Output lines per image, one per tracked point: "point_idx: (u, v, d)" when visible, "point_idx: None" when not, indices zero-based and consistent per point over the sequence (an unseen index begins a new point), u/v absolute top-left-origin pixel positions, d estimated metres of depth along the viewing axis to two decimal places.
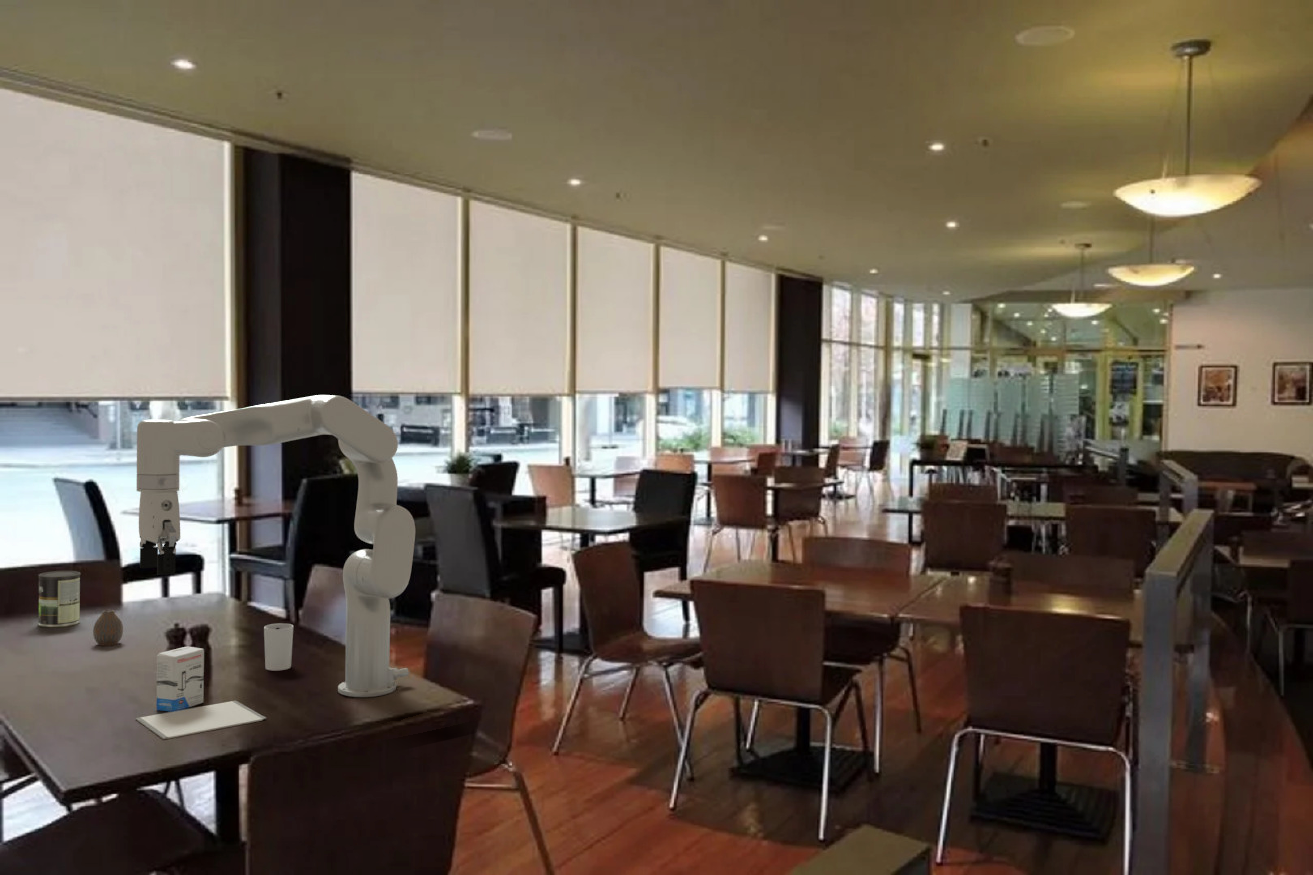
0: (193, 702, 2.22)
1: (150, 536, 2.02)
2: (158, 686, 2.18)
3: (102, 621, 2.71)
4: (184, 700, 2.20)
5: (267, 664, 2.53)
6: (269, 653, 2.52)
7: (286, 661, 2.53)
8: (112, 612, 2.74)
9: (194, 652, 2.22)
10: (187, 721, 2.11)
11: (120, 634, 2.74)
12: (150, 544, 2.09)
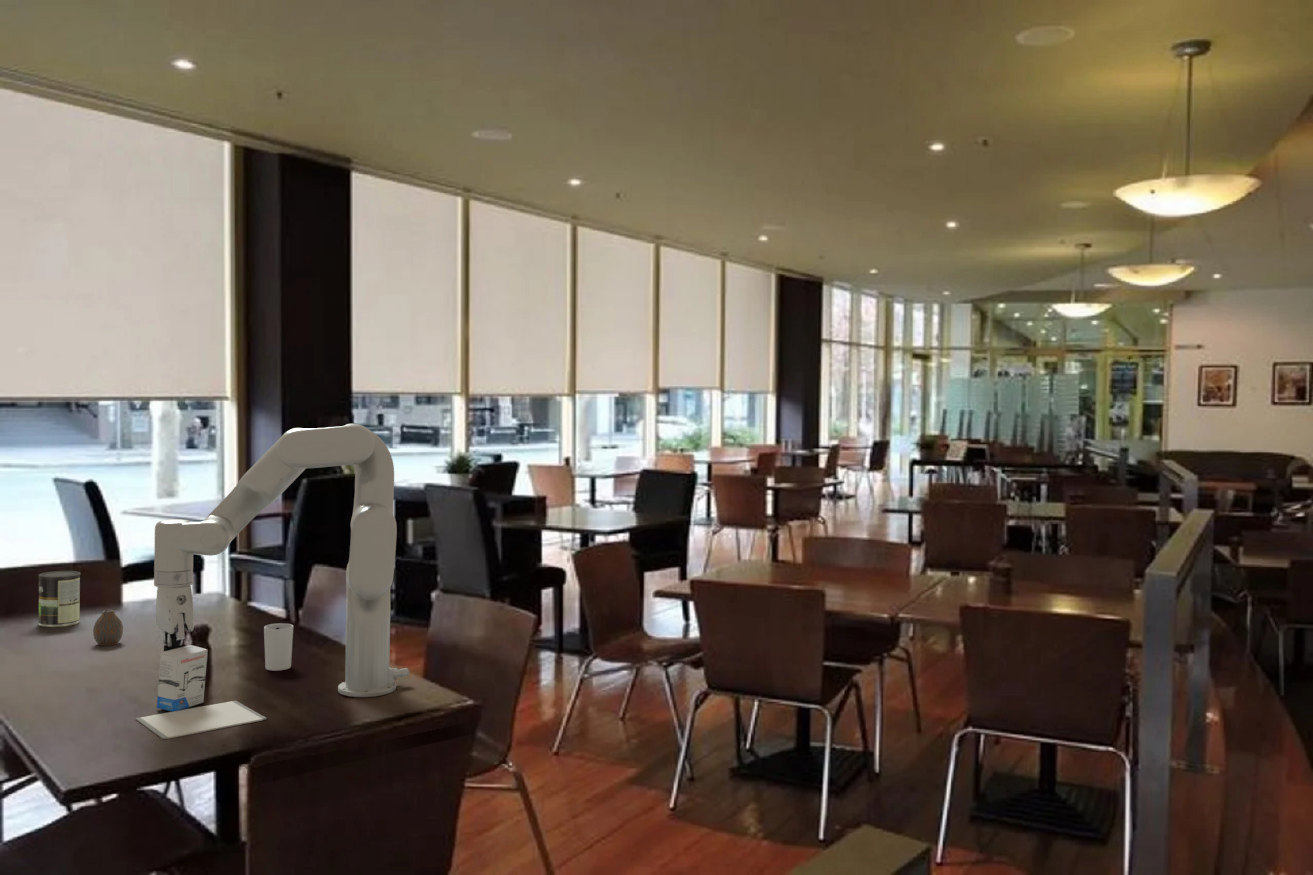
0: (193, 702, 2.22)
1: (166, 628, 2.21)
2: (160, 685, 2.18)
3: (102, 621, 2.71)
4: (185, 700, 2.20)
5: (267, 664, 2.53)
6: (269, 653, 2.52)
7: (286, 661, 2.53)
8: (112, 612, 2.74)
9: (198, 653, 2.22)
10: (187, 721, 2.11)
11: (120, 634, 2.74)
12: None
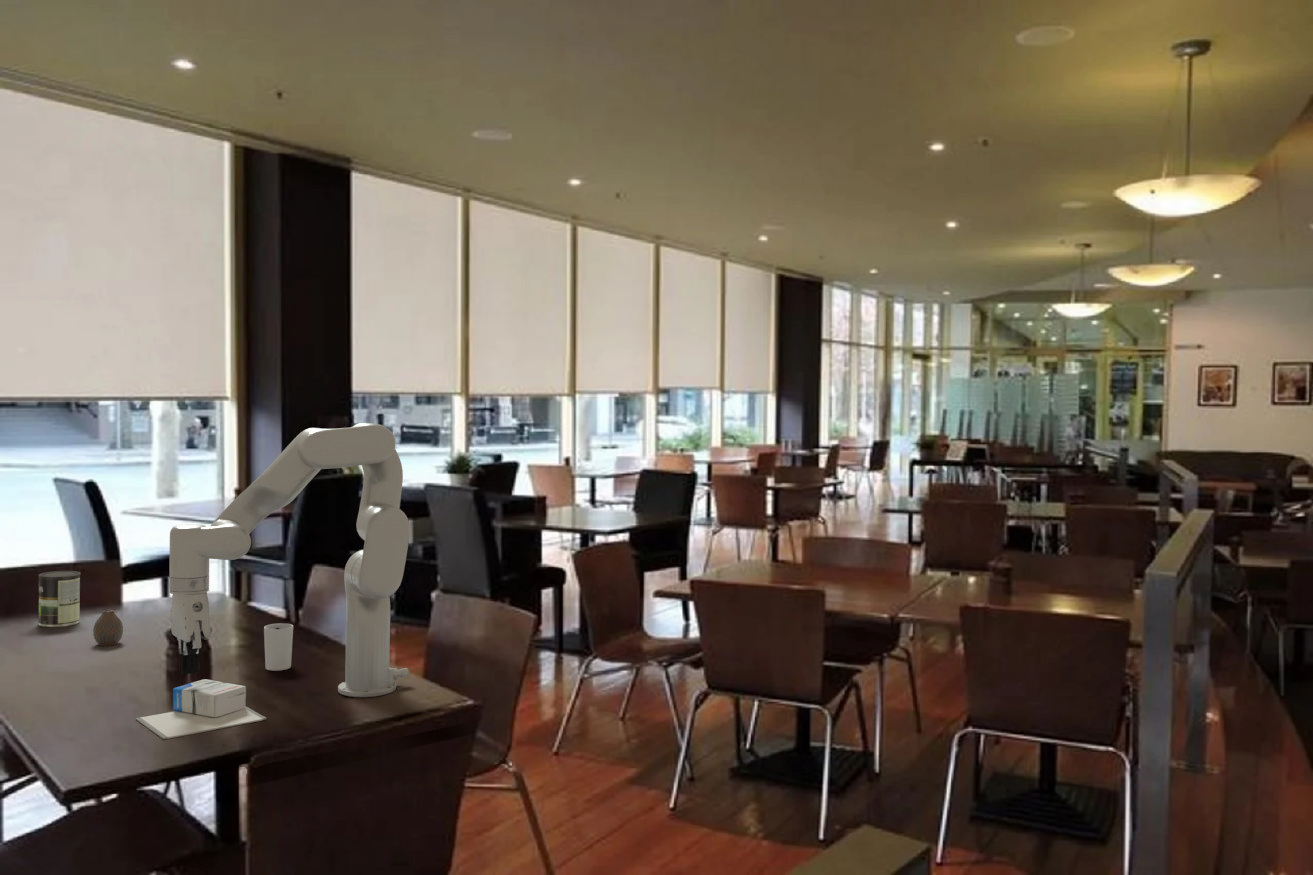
0: None
1: (182, 636, 2.15)
2: (190, 694, 2.15)
3: (102, 621, 2.71)
4: None
5: (267, 664, 2.53)
6: (269, 653, 2.52)
7: (286, 661, 2.53)
8: (112, 612, 2.74)
9: (234, 711, 2.18)
10: (187, 721, 2.11)
11: (120, 634, 2.74)
12: None
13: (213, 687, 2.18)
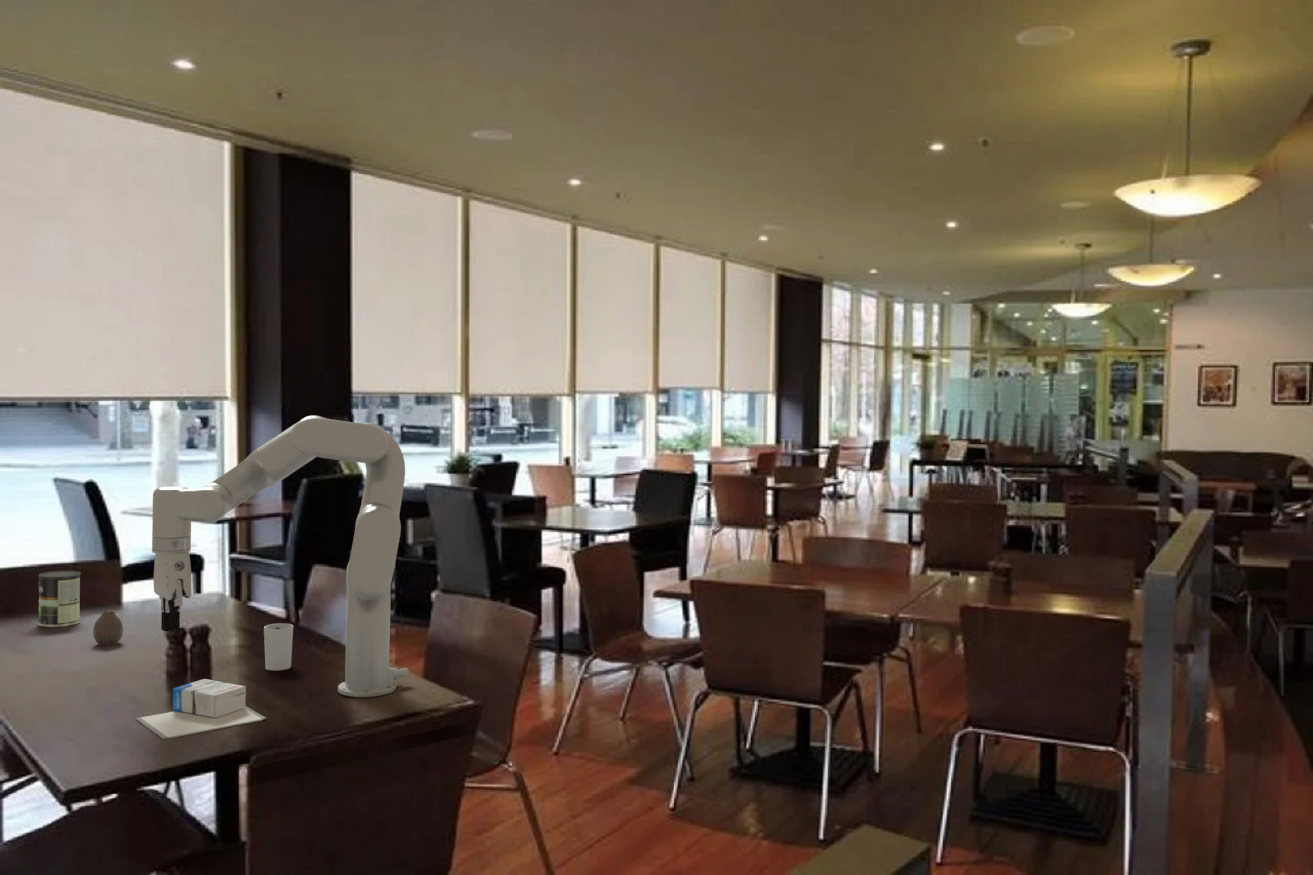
0: None
1: (164, 594, 2.22)
2: (190, 694, 2.15)
3: (102, 621, 2.71)
4: None
5: (267, 664, 2.53)
6: (269, 653, 2.52)
7: (286, 661, 2.54)
8: (112, 612, 2.74)
9: (234, 711, 2.18)
10: (187, 721, 2.11)
11: (120, 634, 2.74)
12: None
13: (213, 687, 2.18)
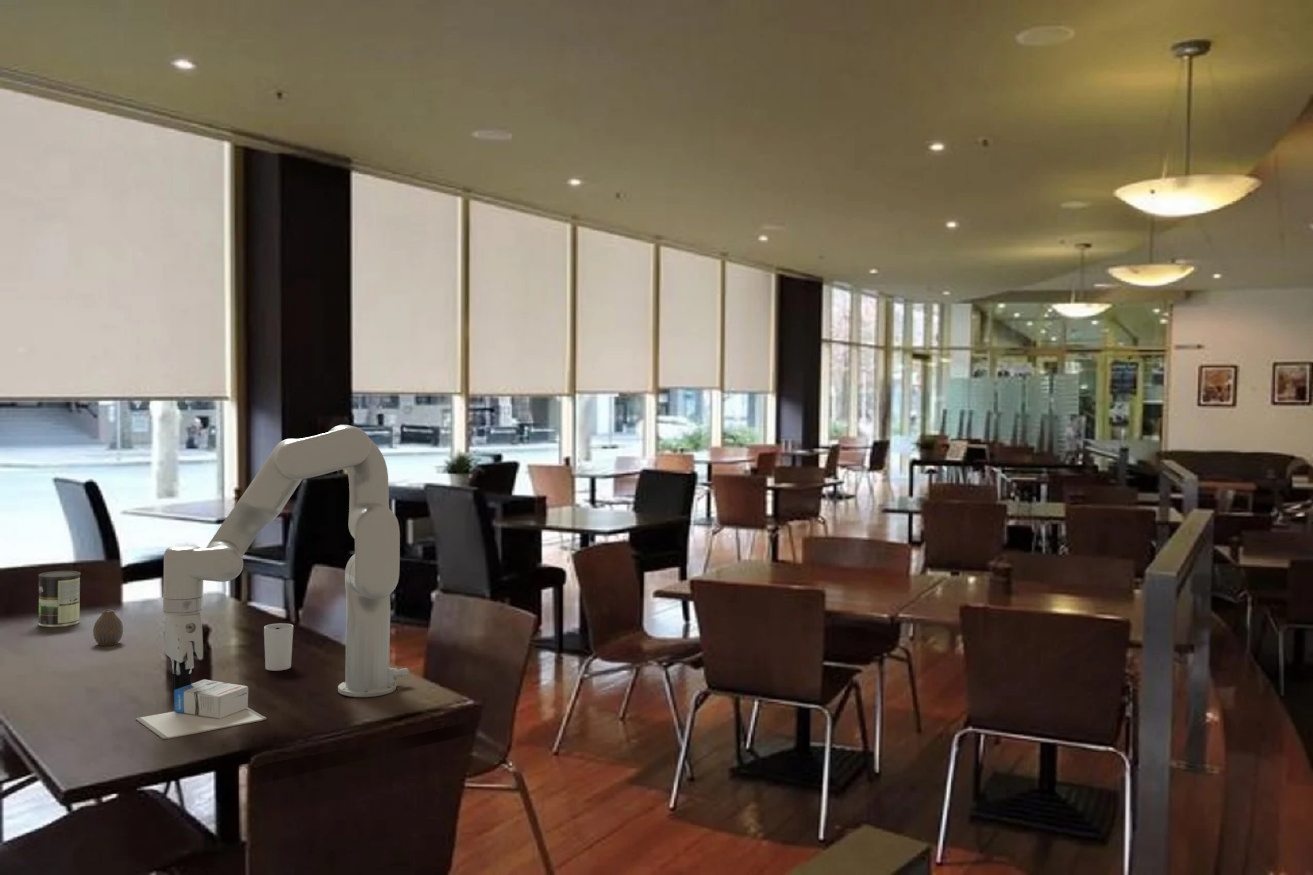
0: None
1: (175, 656, 2.17)
2: (193, 696, 2.14)
3: (102, 621, 2.71)
4: None
5: (267, 664, 2.53)
6: (269, 653, 2.52)
7: (286, 661, 2.54)
8: (112, 612, 2.74)
9: (237, 711, 2.18)
10: (187, 721, 2.11)
11: (120, 634, 2.74)
12: None
13: (215, 688, 2.17)
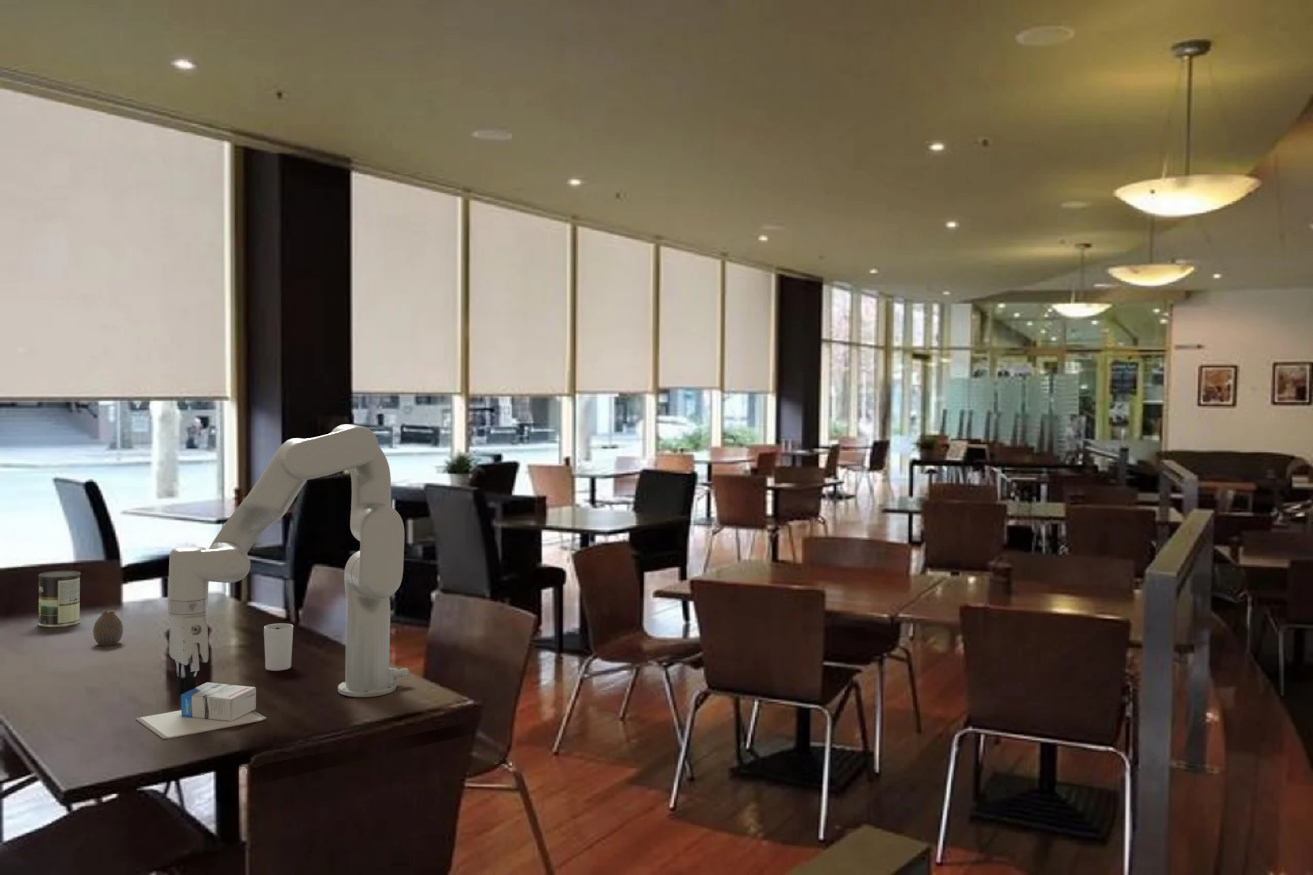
0: None
1: (180, 659, 2.15)
2: (202, 699, 2.12)
3: (102, 621, 2.71)
4: None
5: (267, 664, 2.53)
6: (269, 653, 2.52)
7: (286, 661, 2.54)
8: (112, 612, 2.74)
9: None
10: (187, 721, 2.11)
11: (120, 634, 2.74)
12: None
13: (223, 690, 2.16)
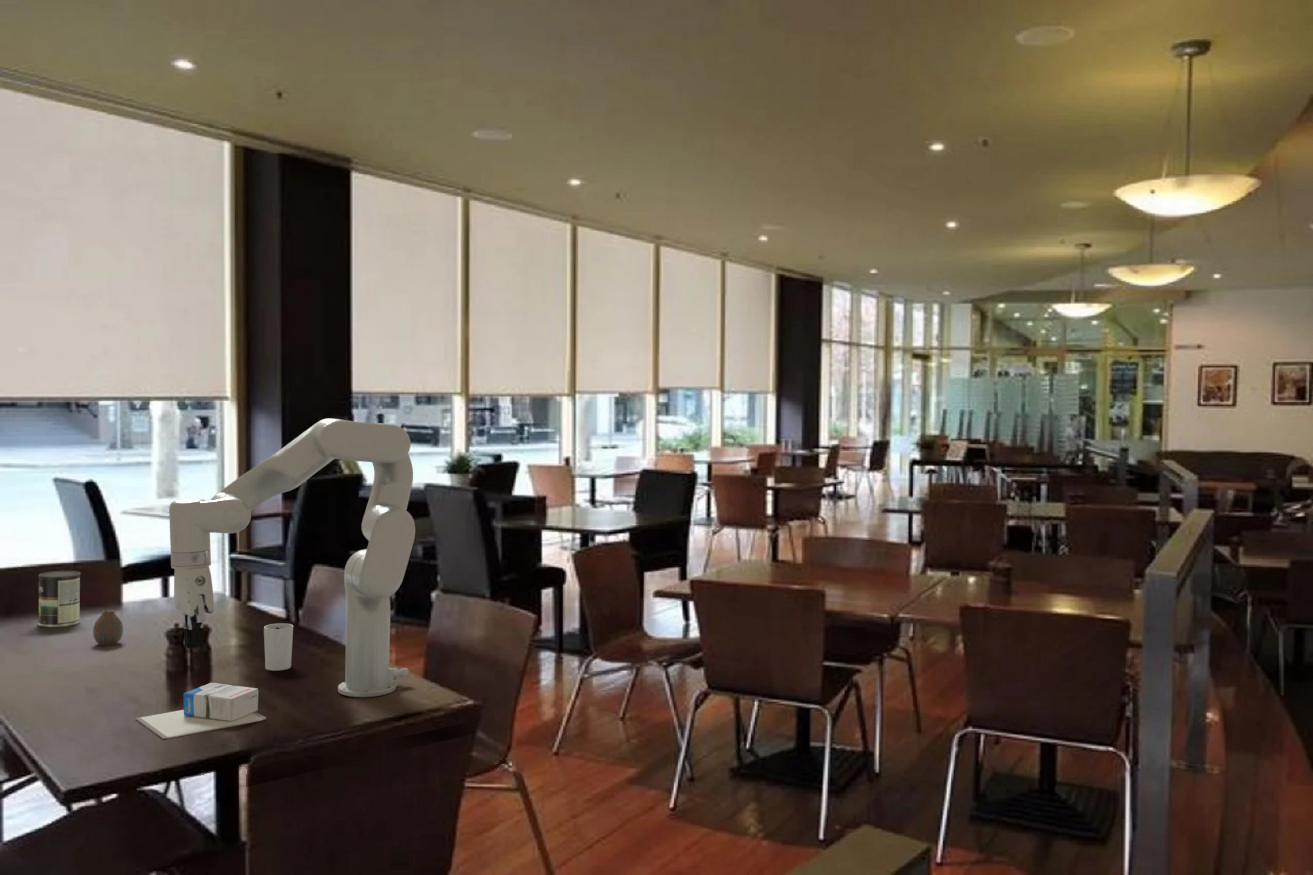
0: None
1: (186, 610, 2.15)
2: (203, 699, 2.13)
3: (102, 621, 2.71)
4: None
5: (267, 664, 2.53)
6: (269, 653, 2.52)
7: (286, 661, 2.54)
8: (112, 612, 2.74)
9: None
10: (187, 721, 2.11)
11: (120, 634, 2.74)
12: None
13: (225, 691, 2.16)
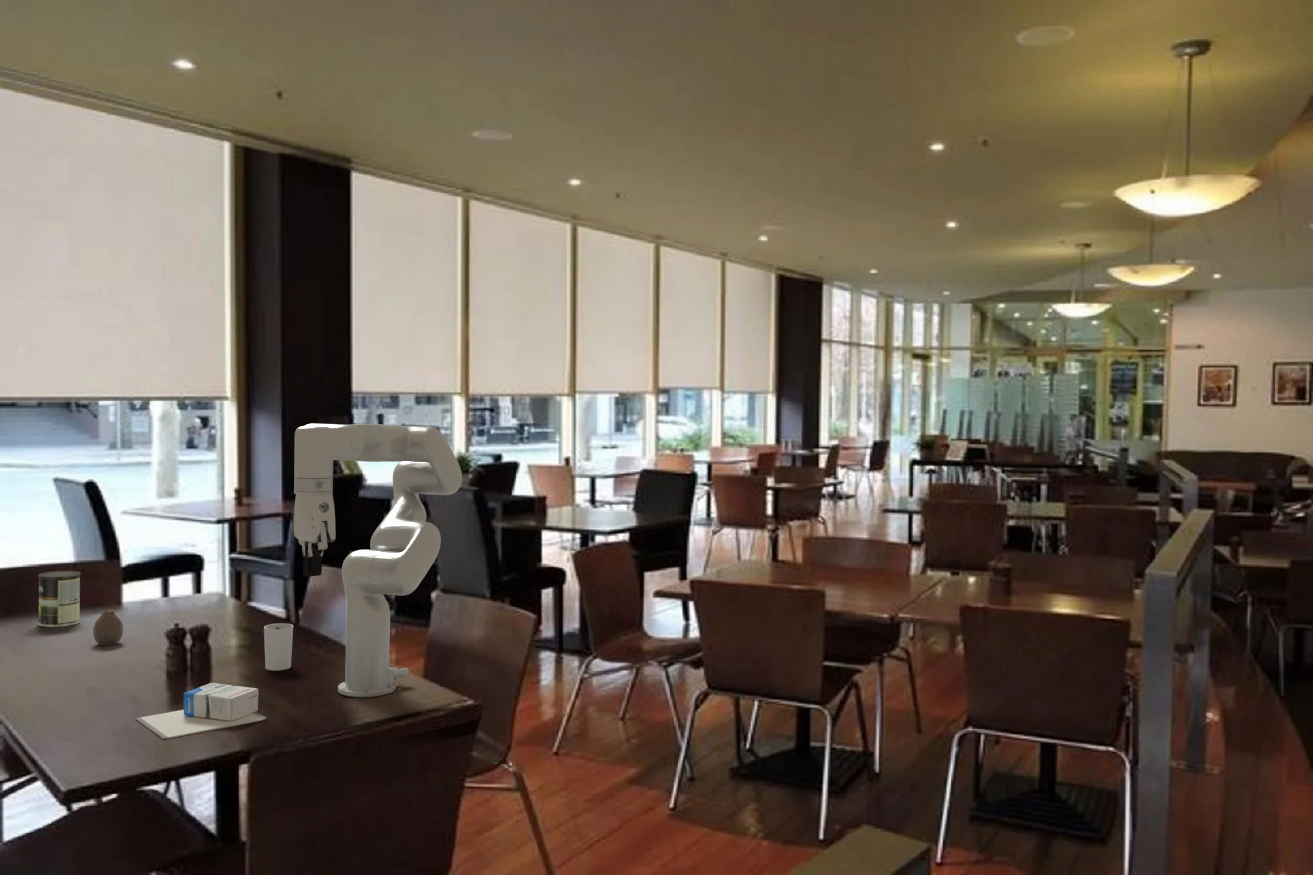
0: None
1: (308, 537, 2.13)
2: (203, 698, 2.13)
3: (102, 621, 2.71)
4: None
5: (267, 664, 2.53)
6: (269, 653, 2.52)
7: (286, 661, 2.54)
8: (112, 612, 2.74)
9: None
10: (187, 721, 2.11)
11: (120, 634, 2.74)
12: None
13: (225, 690, 2.16)
